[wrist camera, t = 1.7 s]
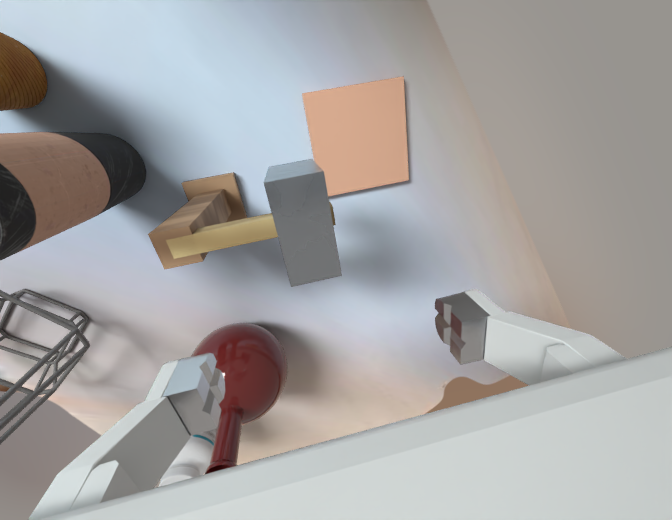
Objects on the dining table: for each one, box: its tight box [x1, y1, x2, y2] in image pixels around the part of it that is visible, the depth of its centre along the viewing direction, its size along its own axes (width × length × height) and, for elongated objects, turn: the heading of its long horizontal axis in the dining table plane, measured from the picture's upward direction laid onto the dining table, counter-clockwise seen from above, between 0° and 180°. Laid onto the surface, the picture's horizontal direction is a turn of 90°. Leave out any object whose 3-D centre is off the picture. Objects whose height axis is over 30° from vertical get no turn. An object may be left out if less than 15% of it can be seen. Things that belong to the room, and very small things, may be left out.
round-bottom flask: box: [191, 323, 287, 474], centre depth 37 cm, size 13×13×20 cm
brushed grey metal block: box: [264, 159, 342, 287], centre depth 25 cm, size 8×4×8 cm, turn 9°
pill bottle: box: [159, 428, 217, 487], centre depth 44 cm, size 8×7×14 cm
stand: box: [148, 172, 336, 269], centre depth 30 cm, size 6×16×16 cm, turn 99°
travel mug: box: [0, 132, 146, 260], centre depth 25 cm, size 8×8×20 cm
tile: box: [302, 76, 409, 196], centre depth 36 cm, size 12×12×1 cm
